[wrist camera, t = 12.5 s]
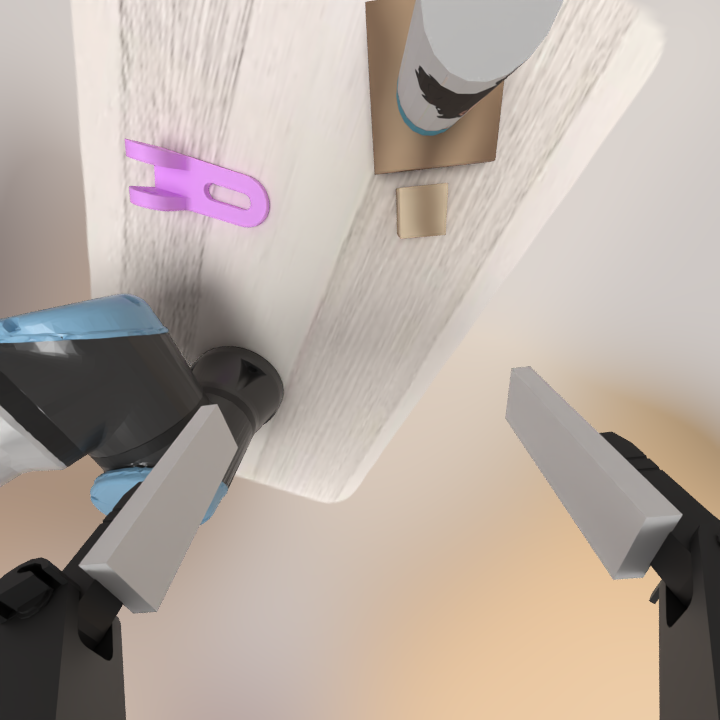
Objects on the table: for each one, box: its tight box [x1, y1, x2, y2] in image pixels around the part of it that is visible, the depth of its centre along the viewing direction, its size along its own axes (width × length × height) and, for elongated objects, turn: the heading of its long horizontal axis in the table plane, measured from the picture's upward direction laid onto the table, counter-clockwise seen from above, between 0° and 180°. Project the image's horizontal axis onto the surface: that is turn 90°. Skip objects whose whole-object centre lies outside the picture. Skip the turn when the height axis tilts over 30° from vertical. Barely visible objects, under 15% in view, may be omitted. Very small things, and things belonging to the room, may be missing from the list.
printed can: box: [396, 0, 563, 136], centre depth 20 cm, size 7×7×15 cm
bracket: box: [125, 139, 269, 227], centre depth 33 cm, size 13×6×7 cm, turn 74°
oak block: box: [396, 183, 448, 239], centre depth 34 cm, size 5×5×5 cm
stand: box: [365, 0, 504, 174], centre depth 29 cm, size 12×12×5 cm
